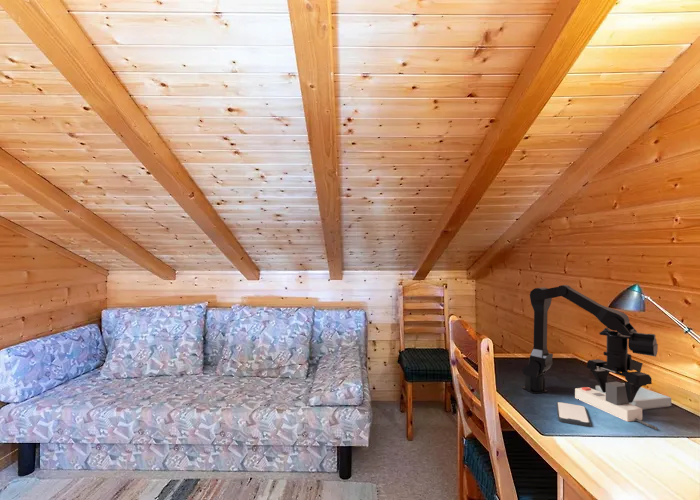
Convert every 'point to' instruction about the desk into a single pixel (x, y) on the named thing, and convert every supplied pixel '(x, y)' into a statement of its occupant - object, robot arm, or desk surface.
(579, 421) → the phone case
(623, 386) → the charger
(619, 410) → the power strip
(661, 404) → the tray
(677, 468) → the desk surface
